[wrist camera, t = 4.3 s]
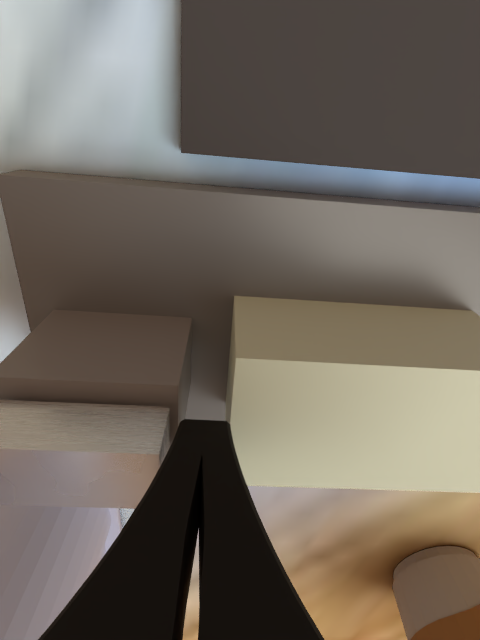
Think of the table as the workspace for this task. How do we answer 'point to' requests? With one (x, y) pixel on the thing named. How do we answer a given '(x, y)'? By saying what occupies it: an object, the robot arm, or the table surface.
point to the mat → (334, 83)
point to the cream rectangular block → (354, 395)
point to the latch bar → (80, 453)
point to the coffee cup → (439, 594)
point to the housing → (201, 277)
